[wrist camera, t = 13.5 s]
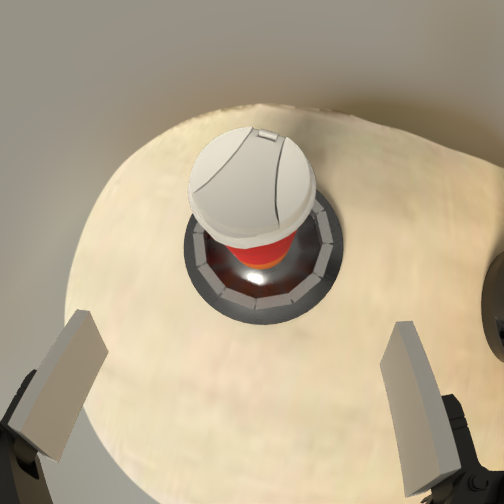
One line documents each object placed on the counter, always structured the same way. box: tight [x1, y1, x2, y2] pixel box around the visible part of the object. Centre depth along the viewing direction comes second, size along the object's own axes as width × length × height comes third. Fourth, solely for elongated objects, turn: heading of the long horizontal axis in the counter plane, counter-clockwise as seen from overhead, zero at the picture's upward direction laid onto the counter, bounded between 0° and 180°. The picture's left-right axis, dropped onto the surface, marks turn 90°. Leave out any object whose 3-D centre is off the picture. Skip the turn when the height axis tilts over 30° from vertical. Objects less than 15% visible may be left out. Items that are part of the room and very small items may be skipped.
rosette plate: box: [184, 189, 343, 325], centre depth 30 cm, size 16×16×3 cm
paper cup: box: [188, 127, 316, 269], centre depth 23 cm, size 8×8×14 cm
